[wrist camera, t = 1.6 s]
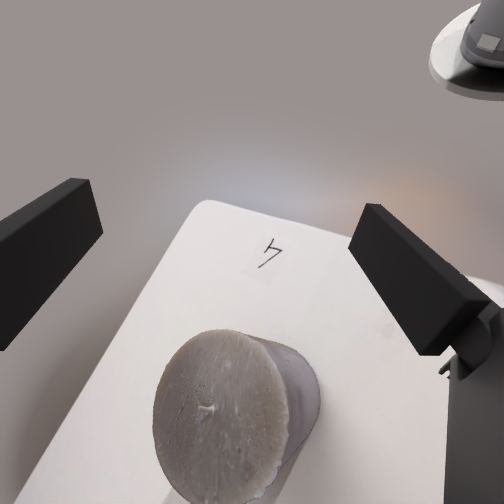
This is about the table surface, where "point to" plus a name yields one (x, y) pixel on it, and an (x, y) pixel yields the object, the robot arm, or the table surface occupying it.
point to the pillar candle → (231, 415)
